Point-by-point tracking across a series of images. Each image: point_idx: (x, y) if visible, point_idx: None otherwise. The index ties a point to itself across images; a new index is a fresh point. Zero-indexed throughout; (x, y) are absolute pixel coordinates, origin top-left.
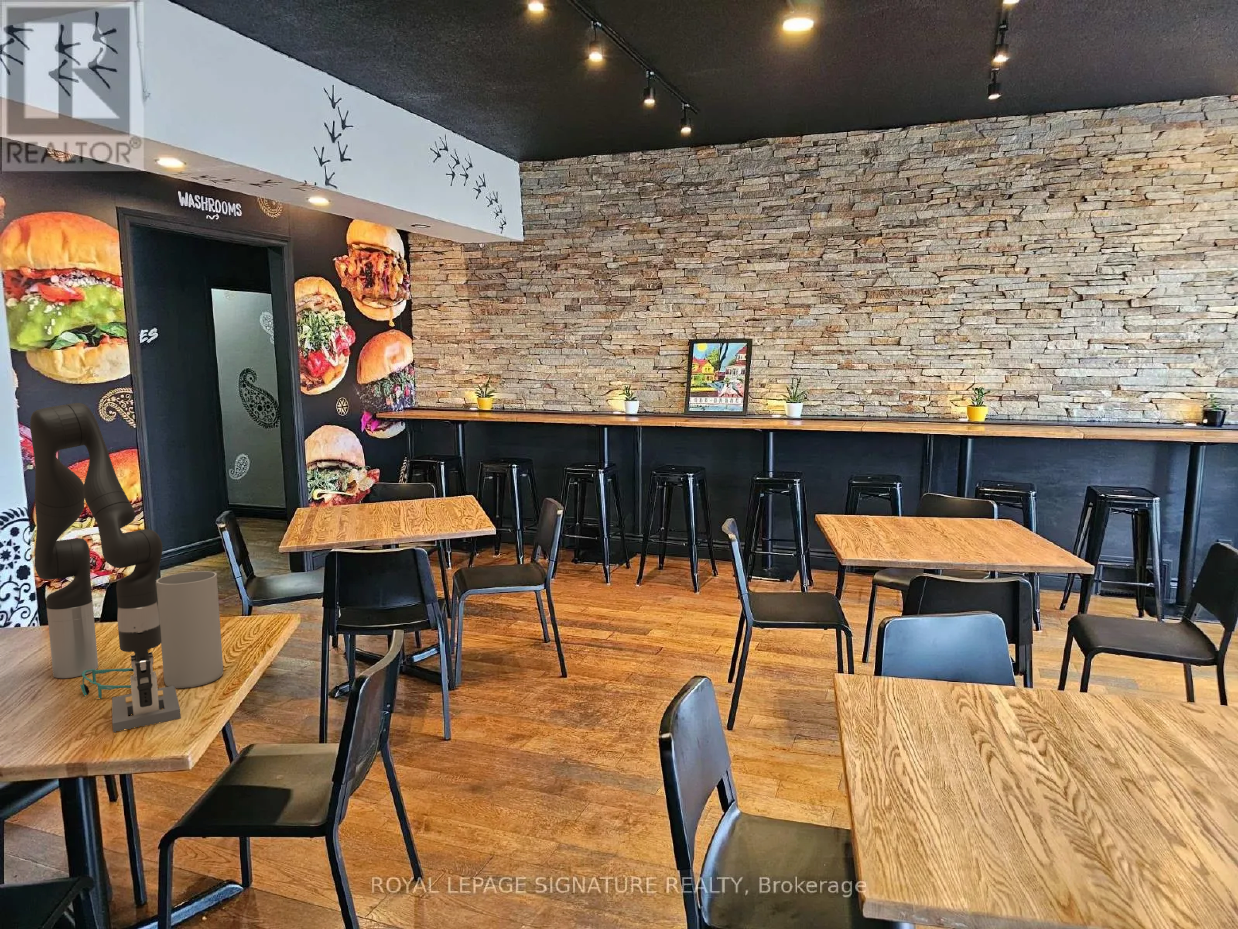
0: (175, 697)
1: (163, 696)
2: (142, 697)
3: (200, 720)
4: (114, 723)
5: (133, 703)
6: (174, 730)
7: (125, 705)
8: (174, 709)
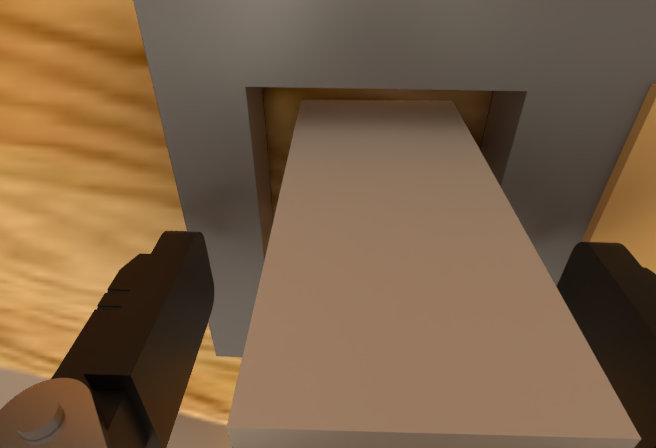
0: None
1: None
2: (91, 325)
3: None
4: None
5: (283, 188)
6: (63, 277)
7: (586, 77)
8: (224, 338)
